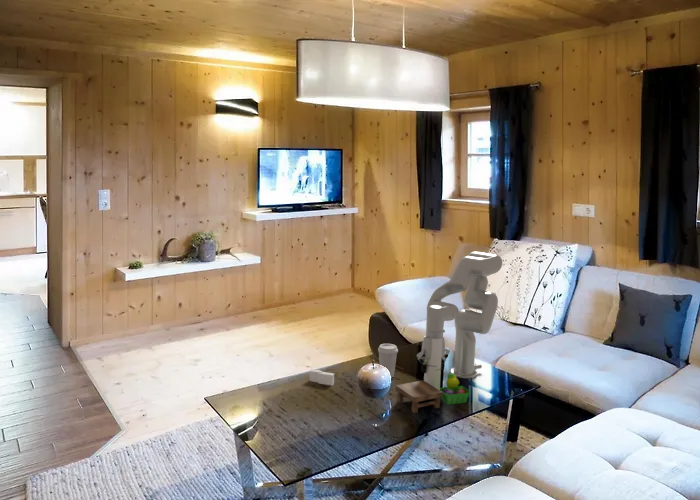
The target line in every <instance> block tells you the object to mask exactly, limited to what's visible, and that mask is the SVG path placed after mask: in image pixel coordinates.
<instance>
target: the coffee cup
mask: <svg viewBox="0 0 700 500" xmlns="http://www.w3.org/2000/svg"><path fill="white" fill-rule="evenodd" d="M377 351H378V360H379V361H378V362H379V364H378V365H379V366H380V365H382V366H384V367H386V368H387V369H388V370H389V371H390V373H391V376H392V377H395V370H396V362H397V354H398V352H399V349H398V347H397V345H395V344H392V343H382V344H380V345H379V347H378V349H377Z"/></svg>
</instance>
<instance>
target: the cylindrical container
mask: <svg viewBox="0 0 700 500" xmlns="http://www.w3.org/2000/svg"><path fill="white" fill-rule="evenodd" d="M441 357H442V338H441V339H432V354H431V359H430V360H428V361H427V362H426V365H427V369H426V373H424V374H423V375H424V376H423V380H424V381H425V382H427V383H429V384H430V385H432V386H433V387H435V388H437V389H438V390H440V388H441V373H442V372H441V370H442V369H441Z"/></svg>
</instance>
